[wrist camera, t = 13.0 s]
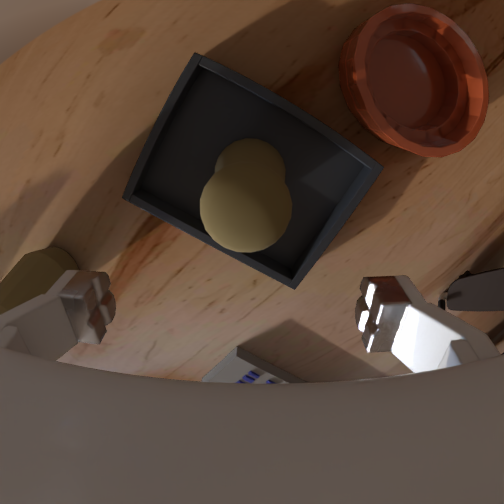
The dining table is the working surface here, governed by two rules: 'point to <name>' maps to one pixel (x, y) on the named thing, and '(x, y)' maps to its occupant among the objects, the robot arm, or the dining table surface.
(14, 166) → the dining table surface
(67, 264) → the squeeze bottle
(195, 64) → the tray
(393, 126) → the bowl
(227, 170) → the olive green bottle
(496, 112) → the dining table surface
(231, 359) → the remote control
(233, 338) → the dining table surface
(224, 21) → the dining table surface
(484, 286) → the laptop tray
